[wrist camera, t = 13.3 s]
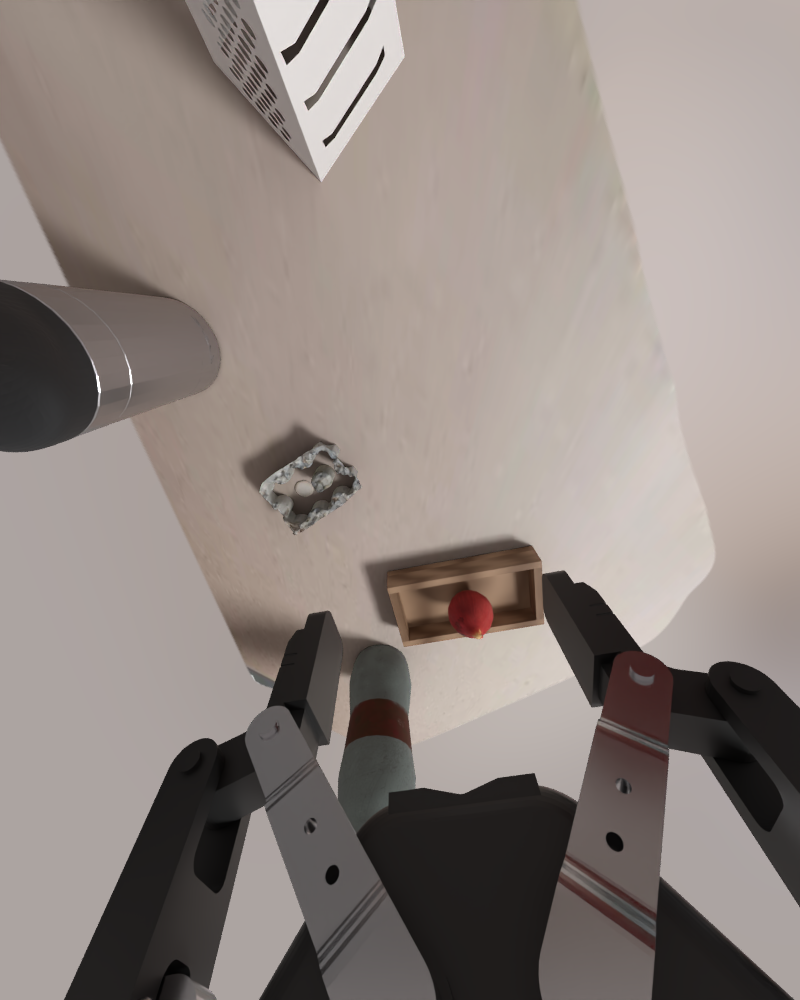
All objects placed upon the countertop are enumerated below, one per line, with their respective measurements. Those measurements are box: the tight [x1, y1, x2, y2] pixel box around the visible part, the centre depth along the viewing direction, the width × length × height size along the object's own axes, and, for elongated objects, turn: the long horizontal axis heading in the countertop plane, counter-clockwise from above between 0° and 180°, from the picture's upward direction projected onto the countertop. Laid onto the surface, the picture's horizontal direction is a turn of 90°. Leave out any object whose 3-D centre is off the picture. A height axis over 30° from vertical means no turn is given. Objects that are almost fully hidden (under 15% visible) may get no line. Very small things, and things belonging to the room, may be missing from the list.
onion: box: [448, 590, 494, 639], centre depth 47 cm, size 6×6×8 cm
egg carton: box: [259, 442, 362, 535], centre depth 42 cm, size 11×8×4 cm
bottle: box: [338, 645, 416, 833], centre depth 45 cm, size 9×9×30 cm
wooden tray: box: [387, 546, 544, 647], centre depth 50 cm, size 20×11×4 cm, turn 102°
